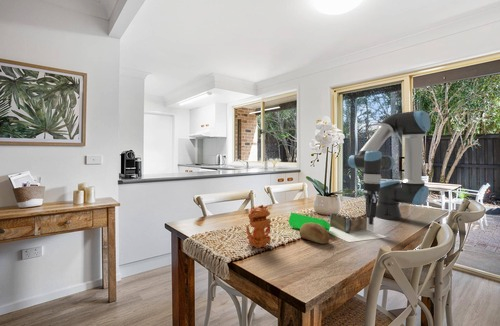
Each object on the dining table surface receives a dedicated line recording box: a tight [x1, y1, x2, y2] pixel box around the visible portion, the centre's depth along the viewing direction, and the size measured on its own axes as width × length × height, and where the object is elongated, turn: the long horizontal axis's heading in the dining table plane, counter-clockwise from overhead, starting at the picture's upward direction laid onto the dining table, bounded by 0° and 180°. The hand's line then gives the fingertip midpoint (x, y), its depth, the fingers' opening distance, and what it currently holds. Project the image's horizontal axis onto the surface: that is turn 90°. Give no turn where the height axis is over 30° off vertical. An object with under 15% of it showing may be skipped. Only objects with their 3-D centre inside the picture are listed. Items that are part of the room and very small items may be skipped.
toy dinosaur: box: [245, 204, 272, 249], centre depth 108 cm, size 11×11×18 cm
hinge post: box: [345, 216, 351, 233], centre depth 128 cm, size 2×2×8 cm
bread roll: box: [298, 223, 330, 245], centre depth 116 cm, size 10×15×8 cm, turn 39°
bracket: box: [288, 212, 331, 231], centre depth 133 cm, size 20×10×7 cm, turn 44°
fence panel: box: [350, 215, 367, 232], centre depth 131 cm, size 12×1×7 cm, turn 114°
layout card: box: [327, 226, 387, 243], centre depth 129 cm, size 23×23×1 cm
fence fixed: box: [329, 212, 347, 231], centre depth 135 cm, size 2×12×8 cm, turn 20°
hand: (369, 230), depth 126 cm, fingers closed
